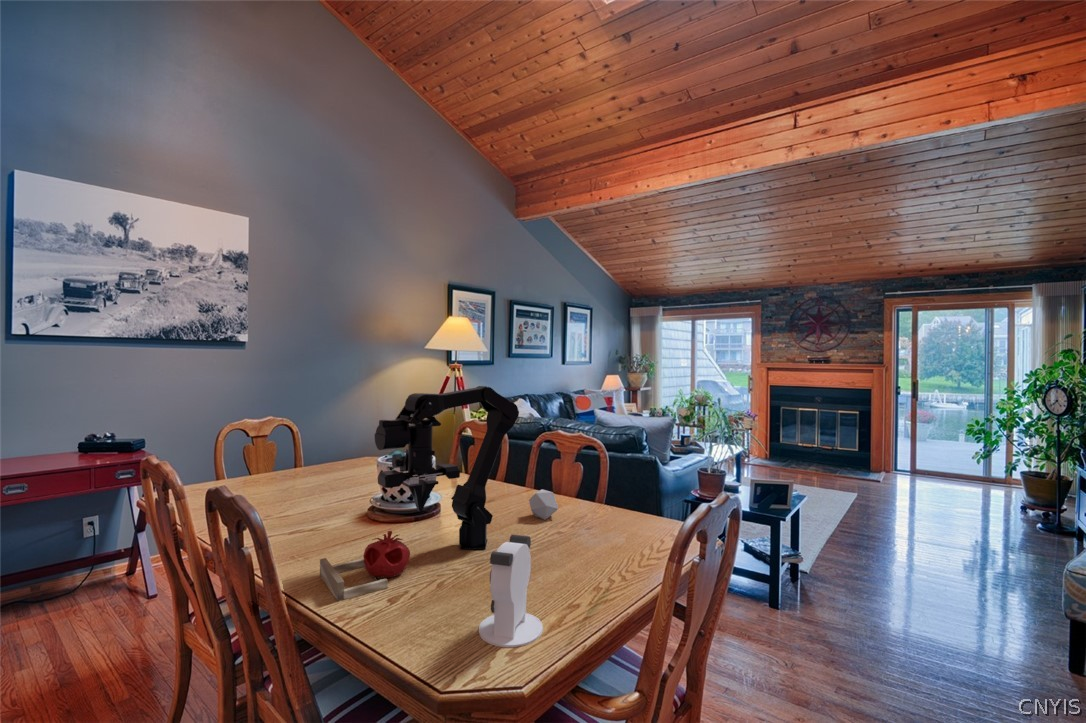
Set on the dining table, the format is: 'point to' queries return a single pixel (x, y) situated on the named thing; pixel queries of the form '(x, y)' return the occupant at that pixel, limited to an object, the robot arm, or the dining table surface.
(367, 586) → the cradle
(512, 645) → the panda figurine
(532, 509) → the die
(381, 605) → the dining table surface
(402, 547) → the pomegranate
